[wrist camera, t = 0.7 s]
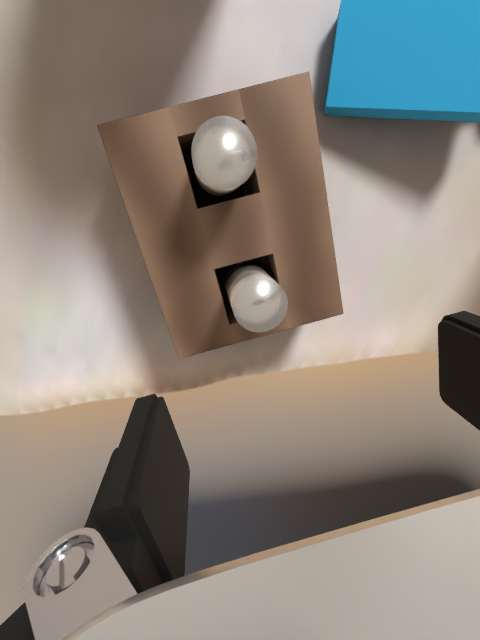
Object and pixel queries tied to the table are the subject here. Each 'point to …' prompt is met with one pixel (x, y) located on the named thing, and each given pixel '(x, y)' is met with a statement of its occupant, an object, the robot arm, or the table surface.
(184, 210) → the walnut block
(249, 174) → the peg
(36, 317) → the table surface
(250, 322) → the peg
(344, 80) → the blue block
